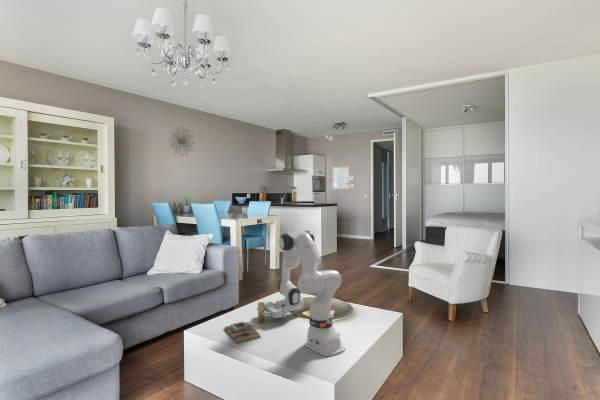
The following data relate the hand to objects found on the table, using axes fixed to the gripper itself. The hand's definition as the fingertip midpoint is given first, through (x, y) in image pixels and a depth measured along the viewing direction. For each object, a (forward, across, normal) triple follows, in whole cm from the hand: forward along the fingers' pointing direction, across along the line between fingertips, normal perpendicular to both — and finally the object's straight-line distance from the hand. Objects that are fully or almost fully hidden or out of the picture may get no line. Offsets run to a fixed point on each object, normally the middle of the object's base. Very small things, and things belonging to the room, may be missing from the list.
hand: (260, 311), depth 212 cm
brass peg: (-1, 0, +7) cm, 7 cm away
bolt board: (+15, +9, +7) cm, 19 cm away
